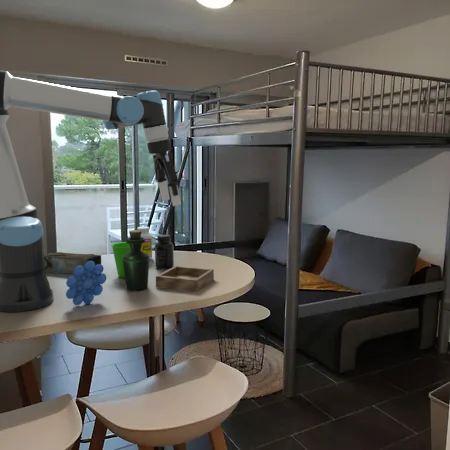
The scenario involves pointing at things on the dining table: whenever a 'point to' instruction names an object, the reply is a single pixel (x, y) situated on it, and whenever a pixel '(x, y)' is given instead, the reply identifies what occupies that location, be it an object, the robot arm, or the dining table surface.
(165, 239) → the supplement bottle
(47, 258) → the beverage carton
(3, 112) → the robot arm
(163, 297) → the dining table surface
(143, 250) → the supplement bottle
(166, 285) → the walnut tray
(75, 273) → the grapes
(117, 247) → the cup
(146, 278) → the potion bottle
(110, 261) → the dining table surface
